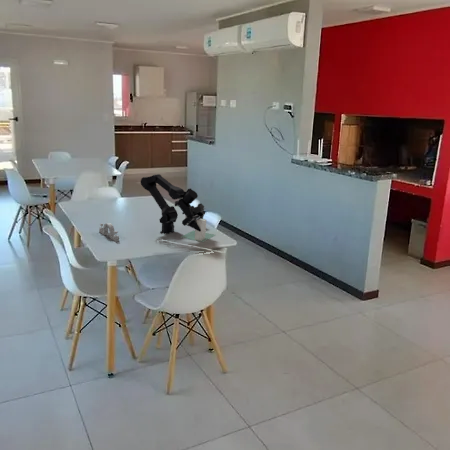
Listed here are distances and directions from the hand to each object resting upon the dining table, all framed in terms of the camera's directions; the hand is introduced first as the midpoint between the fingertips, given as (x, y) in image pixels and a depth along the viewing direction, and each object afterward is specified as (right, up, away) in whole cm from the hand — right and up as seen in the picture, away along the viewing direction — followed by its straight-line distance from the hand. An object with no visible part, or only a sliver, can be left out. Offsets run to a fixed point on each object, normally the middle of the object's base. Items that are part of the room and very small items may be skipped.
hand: (202, 229), depth 262 cm
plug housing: (-2, -5, +2) cm, 6 cm away
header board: (-3, -5, +8) cm, 9 cm away
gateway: (-53, -5, -1) cm, 54 cm away
